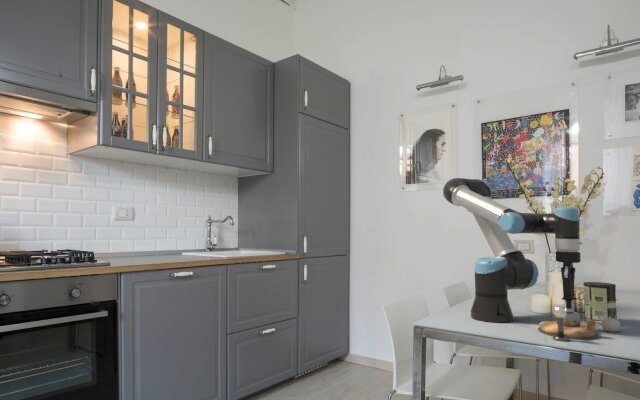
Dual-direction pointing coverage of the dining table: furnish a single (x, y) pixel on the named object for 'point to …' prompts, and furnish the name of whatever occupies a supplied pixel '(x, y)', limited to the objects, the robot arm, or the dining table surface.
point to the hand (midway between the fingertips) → (569, 318)
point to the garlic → (611, 324)
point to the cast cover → (570, 318)
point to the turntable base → (570, 337)
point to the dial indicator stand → (560, 324)
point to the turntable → (570, 329)
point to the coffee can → (599, 301)
